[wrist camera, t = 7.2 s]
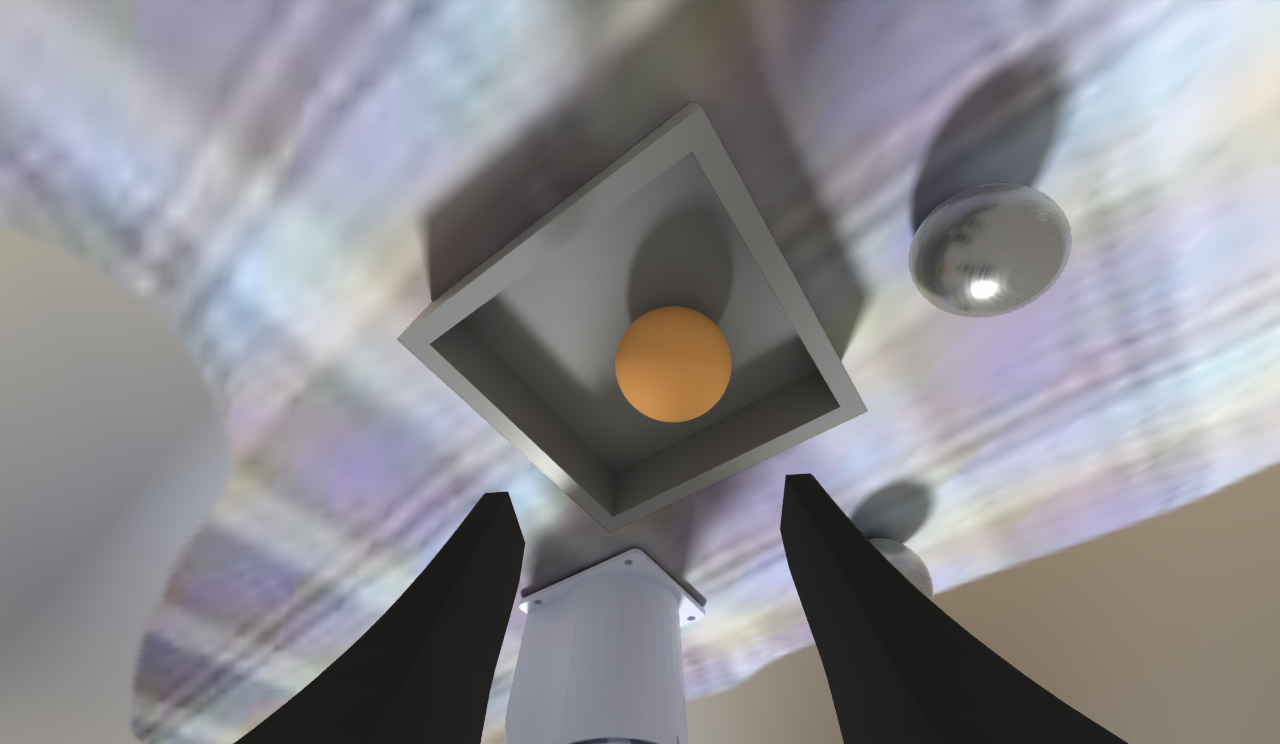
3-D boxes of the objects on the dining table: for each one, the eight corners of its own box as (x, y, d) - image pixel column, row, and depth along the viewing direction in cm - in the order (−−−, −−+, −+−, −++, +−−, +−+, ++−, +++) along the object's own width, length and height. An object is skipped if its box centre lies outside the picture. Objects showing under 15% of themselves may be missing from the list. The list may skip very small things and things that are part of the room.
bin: (613, 483, 25) (609, 533, 22) (431, 302, 19) (396, 339, 17) (838, 368, 21) (868, 411, 18) (691, 101, 15) (701, 105, 13)
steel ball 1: (847, 578, 29) (877, 652, 25) (818, 540, 27) (846, 613, 23) (918, 552, 28) (961, 626, 24) (893, 510, 26) (935, 583, 22)
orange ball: (633, 408, 21) (692, 463, 17) (574, 349, 18) (631, 402, 15) (701, 338, 21) (772, 379, 18) (653, 269, 18) (727, 302, 15)
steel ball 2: (908, 308, 19) (972, 363, 16) (870, 219, 17) (932, 257, 14) (1022, 248, 18) (1121, 292, 14) (994, 145, 16) (1100, 164, 12)
